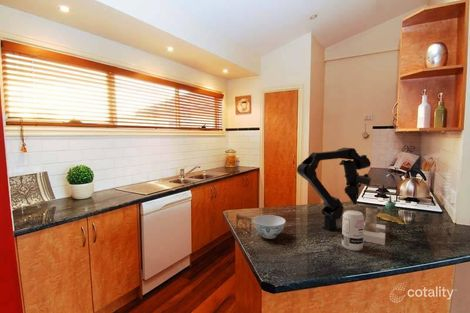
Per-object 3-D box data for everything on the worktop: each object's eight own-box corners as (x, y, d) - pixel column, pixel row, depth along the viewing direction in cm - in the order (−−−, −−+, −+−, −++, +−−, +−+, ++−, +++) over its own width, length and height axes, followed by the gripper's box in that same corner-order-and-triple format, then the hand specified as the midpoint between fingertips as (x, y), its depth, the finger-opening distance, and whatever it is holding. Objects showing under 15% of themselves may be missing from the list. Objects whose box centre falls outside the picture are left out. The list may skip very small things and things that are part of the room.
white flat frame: (354, 239, 114) (354, 232, 114) (358, 226, 130) (358, 220, 129) (384, 245, 108) (385, 237, 108) (385, 231, 123) (385, 224, 123)
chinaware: (260, 244, 109) (260, 227, 109) (249, 231, 124) (249, 216, 123) (291, 240, 113) (291, 223, 113) (276, 228, 128) (277, 213, 127)
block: (364, 235, 118) (365, 210, 117) (365, 232, 122) (366, 207, 121) (375, 237, 116) (376, 211, 115) (375, 234, 120) (377, 209, 119)
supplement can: (344, 241, 112) (346, 208, 111) (364, 246, 107) (366, 212, 106) (339, 247, 106) (340, 213, 105) (360, 253, 101) (361, 217, 99)
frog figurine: (378, 213, 151) (382, 190, 149) (408, 226, 135) (413, 200, 132) (367, 215, 148) (371, 191, 145) (396, 229, 132) (401, 202, 129)
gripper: (367, 174, 115) (373, 206, 116) (369, 166, 131) (374, 195, 132) (341, 176, 121) (347, 207, 122) (346, 169, 137) (351, 196, 138)
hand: (356, 201), depth 128 cm, fingers open, 9 cm apart
